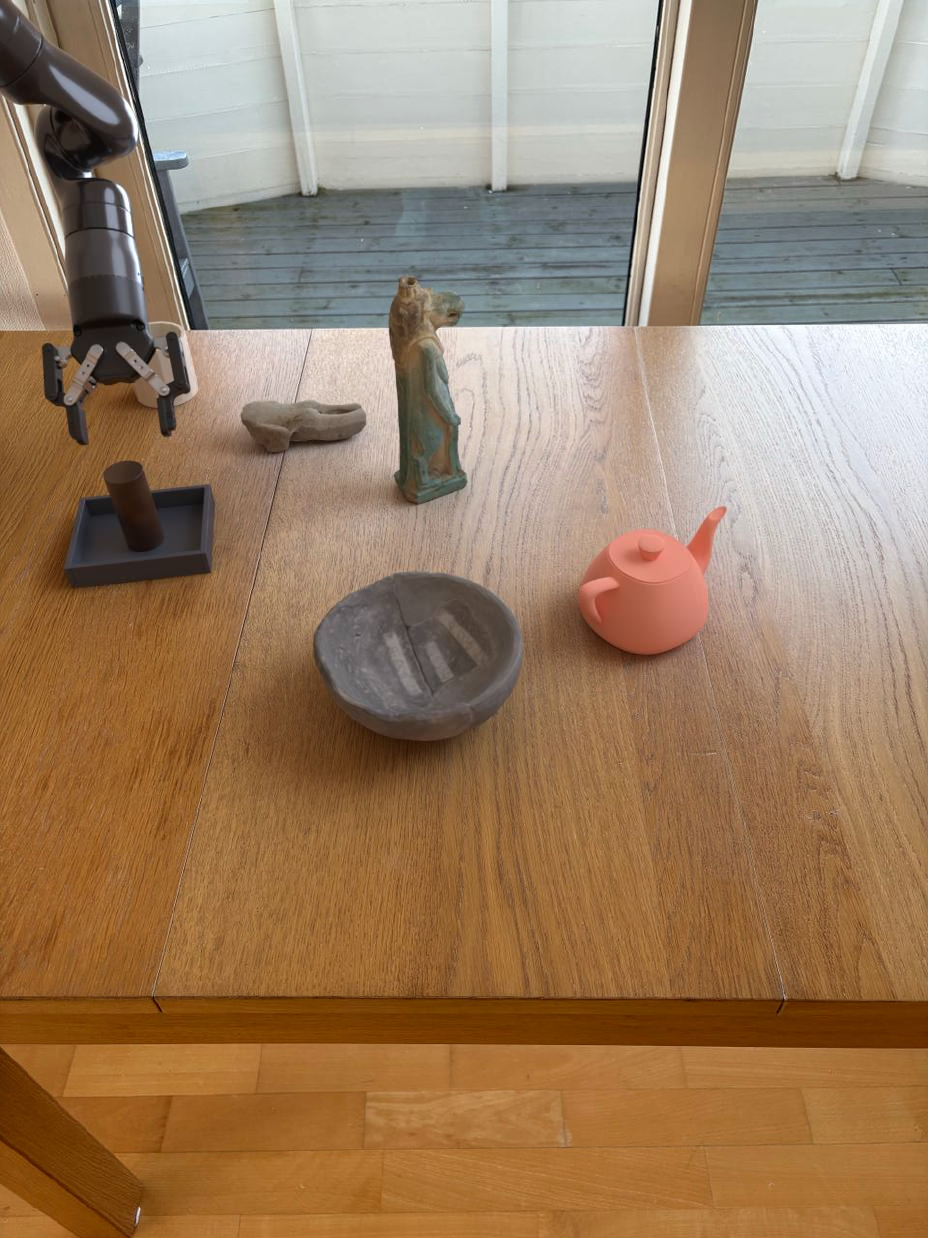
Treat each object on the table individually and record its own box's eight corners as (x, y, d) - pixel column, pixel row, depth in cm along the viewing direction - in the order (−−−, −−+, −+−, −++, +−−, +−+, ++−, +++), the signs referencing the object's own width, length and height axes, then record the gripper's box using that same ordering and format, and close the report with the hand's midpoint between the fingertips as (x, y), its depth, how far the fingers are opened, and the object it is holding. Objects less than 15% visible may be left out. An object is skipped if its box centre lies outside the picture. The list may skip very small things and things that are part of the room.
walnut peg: (125, 554, 101) (100, 485, 95) (128, 530, 104) (105, 462, 98) (163, 549, 101) (141, 480, 95) (165, 526, 104) (144, 458, 98)
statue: (479, 485, 109) (476, 275, 92) (419, 512, 106) (403, 299, 88) (446, 458, 113) (437, 251, 96) (386, 483, 110) (366, 274, 93)
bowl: (560, 723, 84) (564, 661, 78) (380, 809, 78) (371, 748, 72) (459, 604, 95) (457, 542, 89) (296, 670, 89) (282, 608, 83)
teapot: (536, 615, 93) (540, 541, 87) (671, 546, 101) (683, 472, 94) (618, 690, 86) (629, 615, 80) (757, 610, 93) (777, 535, 87)
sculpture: (363, 418, 121) (243, 423, 119) (362, 386, 118) (239, 390, 116) (368, 452, 117) (243, 458, 114) (368, 420, 113) (239, 425, 111)
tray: (71, 588, 98) (63, 569, 96) (87, 516, 107) (80, 497, 105) (211, 572, 99) (205, 552, 97) (215, 502, 108) (210, 483, 106)
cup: (134, 410, 123) (116, 354, 117) (139, 379, 128) (123, 324, 123) (196, 404, 123) (182, 348, 118) (199, 373, 129) (186, 318, 123)
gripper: (22, 278, 94) (41, 439, 94) (167, 265, 96) (187, 424, 96) (48, 304, 102) (66, 454, 102) (182, 292, 103) (200, 440, 103)
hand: (125, 439), depth 99 cm, fingers open, 8 cm apart
